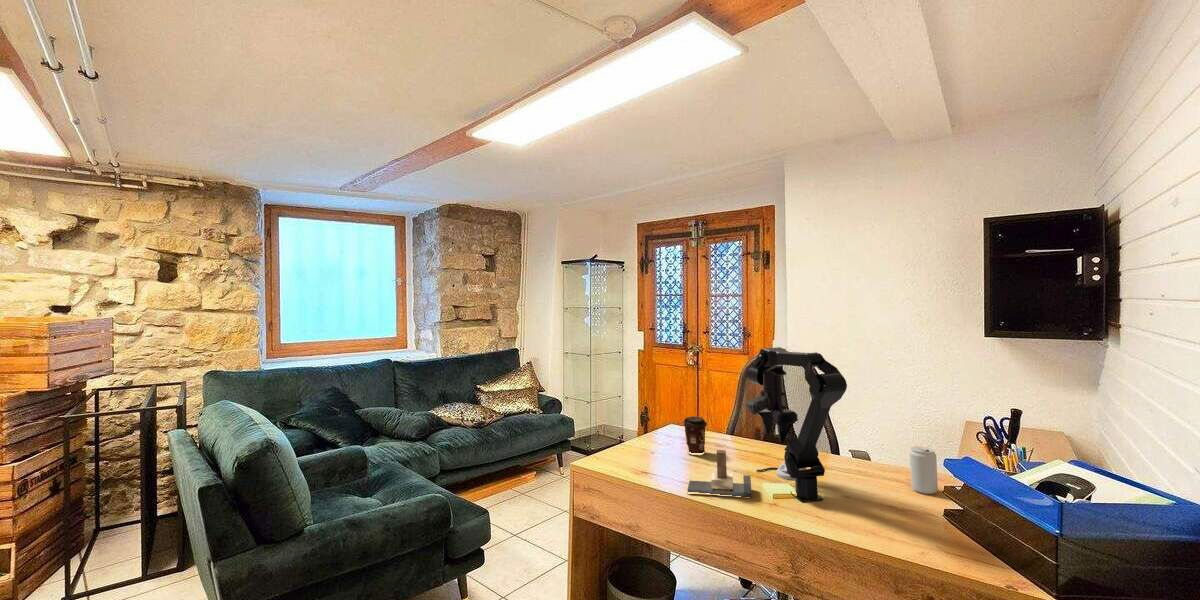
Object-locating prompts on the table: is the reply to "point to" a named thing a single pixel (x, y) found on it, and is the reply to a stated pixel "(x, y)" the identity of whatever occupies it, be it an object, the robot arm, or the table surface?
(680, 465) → the table surface
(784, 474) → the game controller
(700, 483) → the clamp rail
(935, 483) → the beverage can
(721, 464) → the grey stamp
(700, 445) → the coffee cup
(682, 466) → the table surface
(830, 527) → the table surface
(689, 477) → the table surface
